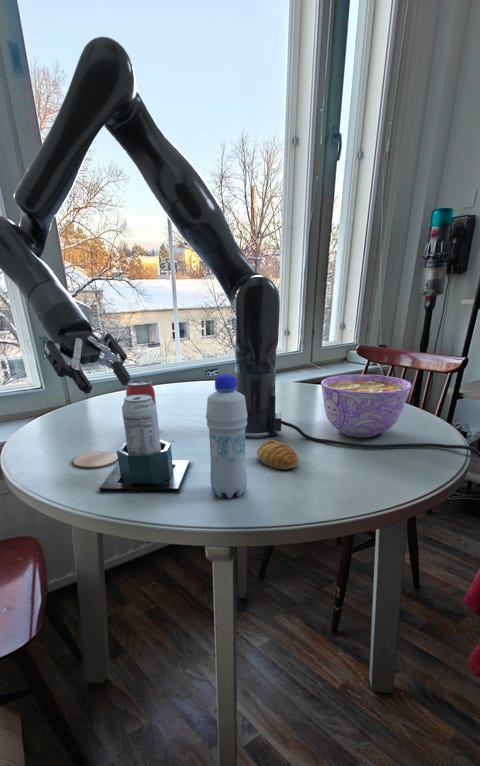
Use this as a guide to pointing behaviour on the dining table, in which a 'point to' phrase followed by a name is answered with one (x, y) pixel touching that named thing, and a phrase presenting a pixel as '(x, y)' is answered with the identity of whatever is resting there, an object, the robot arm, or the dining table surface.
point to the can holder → (146, 472)
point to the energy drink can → (141, 424)
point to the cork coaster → (95, 459)
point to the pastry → (277, 455)
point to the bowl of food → (364, 403)
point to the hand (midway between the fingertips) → (109, 386)
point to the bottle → (227, 437)
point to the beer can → (140, 388)
